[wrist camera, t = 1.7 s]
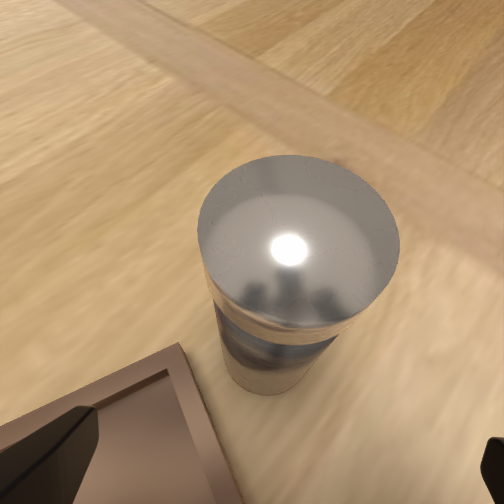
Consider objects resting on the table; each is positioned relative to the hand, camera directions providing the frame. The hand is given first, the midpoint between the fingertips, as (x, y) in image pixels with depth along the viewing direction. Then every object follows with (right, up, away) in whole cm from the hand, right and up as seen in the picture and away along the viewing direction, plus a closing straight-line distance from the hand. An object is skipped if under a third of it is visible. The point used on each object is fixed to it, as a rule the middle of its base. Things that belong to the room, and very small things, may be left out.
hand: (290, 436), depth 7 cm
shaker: (0, -2, +12) cm, 13 cm away
